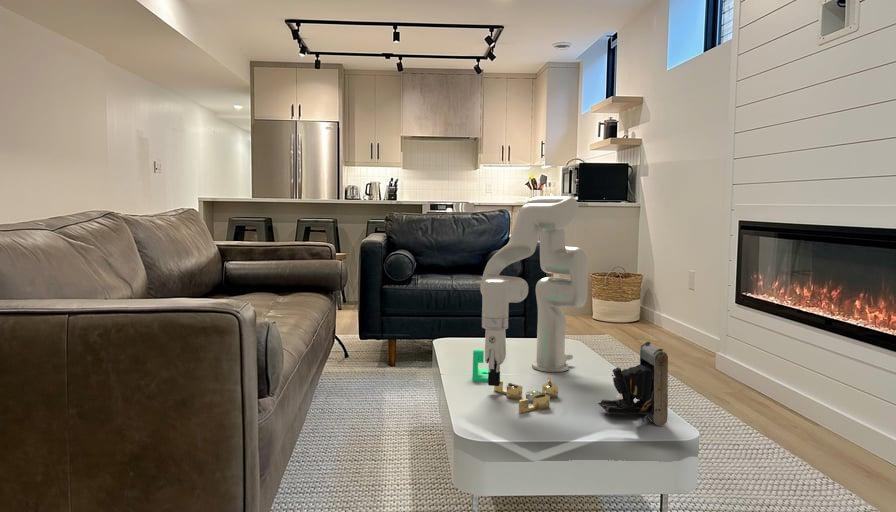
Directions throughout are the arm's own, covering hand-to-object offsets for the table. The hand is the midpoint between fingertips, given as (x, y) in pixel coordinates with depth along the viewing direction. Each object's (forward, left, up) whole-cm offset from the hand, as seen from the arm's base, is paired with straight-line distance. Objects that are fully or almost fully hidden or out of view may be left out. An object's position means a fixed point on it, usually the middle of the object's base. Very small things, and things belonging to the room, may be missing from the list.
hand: (494, 384), depth 167 cm
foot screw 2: (+1, +17, -2) cm, 17 cm away
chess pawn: (-28, +24, -4) cm, 38 cm away
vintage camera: (-17, +34, -4) cm, 39 cm away
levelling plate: (-5, +11, -4) cm, 13 cm away
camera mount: (-9, -15, -4) cm, 18 cm away
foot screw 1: (-2, +3, -2) cm, 5 cm away
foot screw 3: (-13, +9, -2) cm, 16 cm away
